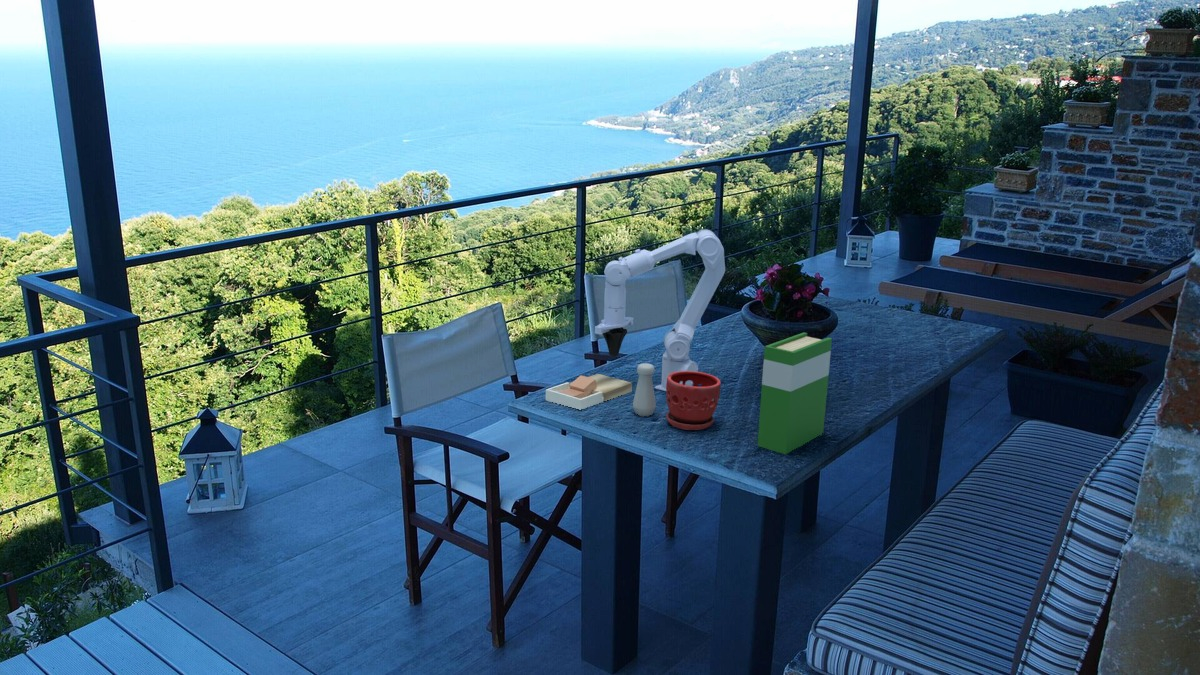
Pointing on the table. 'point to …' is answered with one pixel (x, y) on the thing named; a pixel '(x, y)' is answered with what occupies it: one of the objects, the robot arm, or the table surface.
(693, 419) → the plant pot
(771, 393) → the hardback book
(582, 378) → the tile rear
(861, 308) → the table surface
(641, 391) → the salt shaker
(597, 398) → the box
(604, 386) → the board
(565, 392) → the tile front
